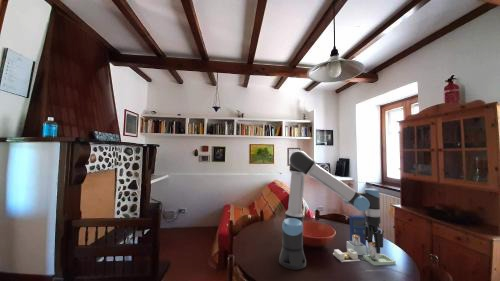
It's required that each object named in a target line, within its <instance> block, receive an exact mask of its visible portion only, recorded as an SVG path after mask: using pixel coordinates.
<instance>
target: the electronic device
mask: <svg viewBox="0 0 500 281" xmlns="http://www.w3.org/2000/svg"><path fill="white" fill-rule="evenodd" d="M348 216H349V219H348V220H349V241H352V235H353V234H356V235H359V236H360V242H361V243H362V244H364V245H365V246H367V240H365V227H364V223H366V215H362V214H361V215H357V214H355V215H353V214H350V215H348Z"/></svg>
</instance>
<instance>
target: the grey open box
mask: <svg viewBox="0 0 500 281" xmlns="http://www.w3.org/2000/svg"><path fill="white" fill-rule="evenodd" d="M367 247H368V245H366V246H365V245H364V244H362V243H361V242H360V246H353V245H352V241H350V240H349V241H348V240H346V250H347V249H353V250H354V251H355V252H357V253H358V256H363V255H368V252H367V251H368V250H367Z"/></svg>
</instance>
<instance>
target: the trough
mask: <svg viewBox="0 0 500 281" xmlns="http://www.w3.org/2000/svg"><path fill="white" fill-rule="evenodd" d="M362 257H363V259H364V260H365V261H367V262H368V263H369V264H371V265H372V266H391V265H396V262H397V261H395V259H392V258H391V257H389V256H387V255H386V254H384V253H382V254H381V253H380V259H379V261H378V262H374V261H372V260H371V259H370V255H369V254H367V255H362Z"/></svg>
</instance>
